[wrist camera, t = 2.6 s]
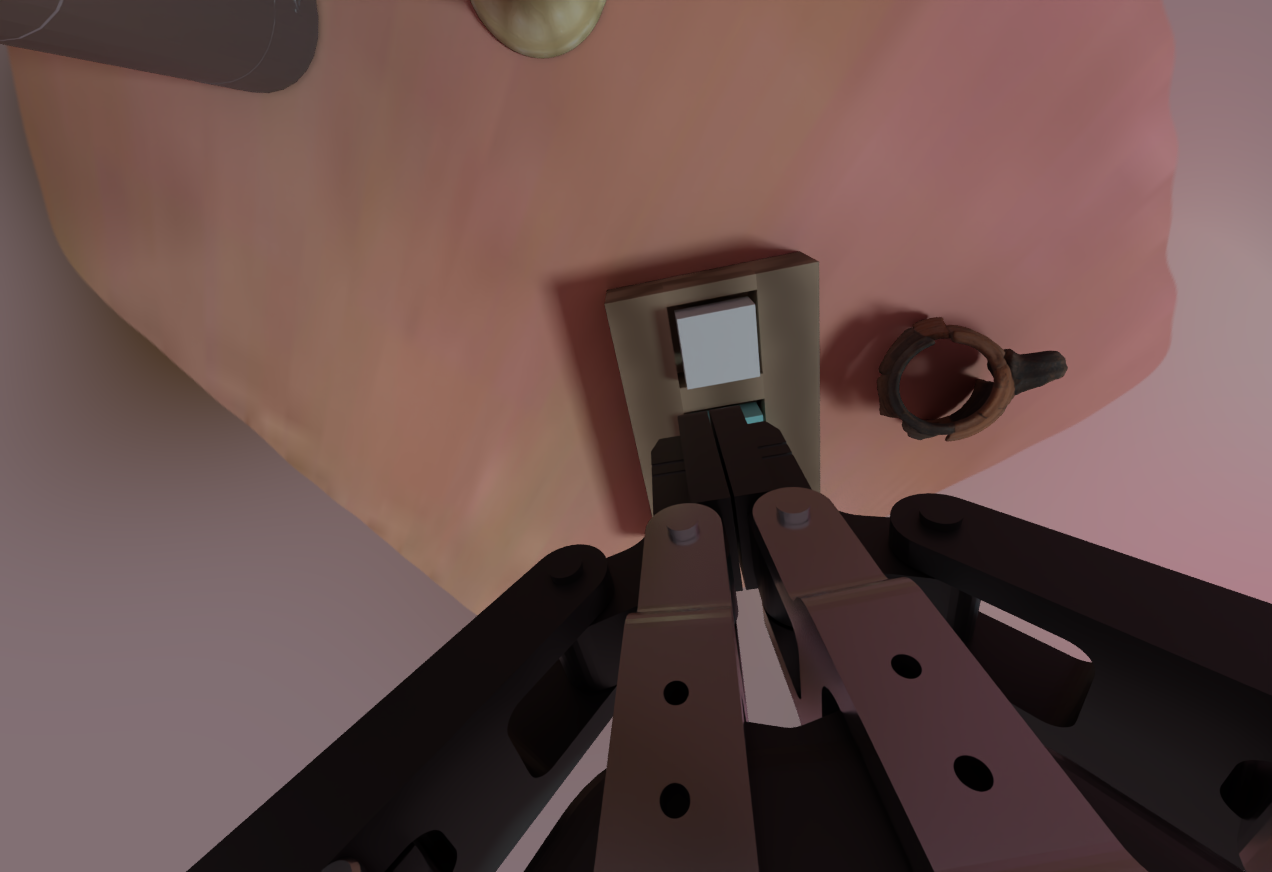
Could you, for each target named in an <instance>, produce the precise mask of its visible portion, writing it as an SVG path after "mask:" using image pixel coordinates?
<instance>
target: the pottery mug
mask: <svg viewBox="0 0 1272 872" xmlns="http://www.w3.org/2000/svg"><path fill="white" fill-rule="evenodd" d="M937 339H951V340H952V341H953V342H956V343H961V344H966V345H969V346H971V347H973V348H975V349H977V350H978V351H979V352H981V353H982V354H983V355H984V356H985V357H986V358H987V360H988V363H987V367H988V369H989V371H990V372H991V374H992V376H993V378H994V382H991V381H988V382H987V381H985V380H982V379H977V380H976V383H975V387H974V390H973V392H972V395H971V397H970V398H969V399H968V401H967V402H966V403H965V404H964V405H963V406H962V407H961V408H960V409H959V410H958V411H957V412H955V413H953V414H951V415H950V416H946V417H943V418H939V419H934V420H922V419H920V418H918V417H916V416H915V415H913V414H912V413H910V412H909V411H908V410H907V408H906V407H905V406H904V404H903V402H902V400H901V397H900V393H899V383H900V378H901V375H902V373H903V371H904V369H905V367H906V365H907V364H908V363H909V361H910V360H911V359H912V358H913V357H914V356H915V355H916V354H918V353H919V352H920V351H922V350H924V349H925V348H928V347H929V346H932V345H934V344H935V341H934V340H937ZM1067 369H1068V367H1067V365H1066V360H1065V358H1064V357H1063V356H1062V355H1061V354H1060V353H1059V352H1058V351H1043V352H1037V353H1029V354H1017V353H1015V352H1014V351H1013V350H1011V349H1004V350H1003V349H1002V348H1001V347H1000V346H999V345H997V344H996V343H995V342H993V341H992V340H991V339H989V338H988V337H986V336H984V335H982V334H980V333H978V332H976V331H974V330H972V329H969V328H966V327H962V326H956V325H946V324H945V323H944V321H943V318H942V317H939V318H938V317H935V318H929V319H926V320H921V321H919V322H917V323H915V324H913V328H909V329H907V330H905V331H904V333H903V334H902V335H901V336H900V337H899V338H898V339H897V340H896V341H895V343H894V344H893V345H892V346H891V348H890V349H889V350H888V352H887V354H886V355H885V357H884V359H883V361H882V363H881V365H880V367H879V372H880V373H881V374H882V375H881V376H880V377H879V378H878V379H877V390H878V395H879V402H880V408H879V410H880V415H884V416H887V417H892V418H899V419H902V421H903V422H902V427H903V430H904V431H905V432H907V433H908V436H909V437H911V438H914V439H917V440H922V439H925V438H931V437H934V436H937V435H947V436H946V438H945V441H955V440H960V439H964V438H967V437H970V436H972V435H975V434H977V433H979V432H981V431H982V430H984V429H985V428H987V427H988V426H990V425H991V424H992V423H994V422H995V421H996V420H997V419H998V418H999V417H1000V416H1001V415H1002V414H1003V412H1004V411H1005V409H1006V407H1007V405H1008V404H1009V403H1010V402H1011V400H1012V399H1013V397H1014V396H1015V395H1017V394H1019V393H1021V392H1024V391H1027V390H1030V389H1033V388H1036V387H1040V386H1043V385H1045V384H1047V383H1048V382H1051V381H1053V380H1055V379H1059V378H1061V377H1063V376H1064V375H1065V372H1066V371H1067Z"/></svg>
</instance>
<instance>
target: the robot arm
mask: <svg viewBox="0 0 1272 872" xmlns="http://www.w3.org/2000/svg"><path fill="white" fill-rule="evenodd" d="M317 40H318V12H317V5H316V0H0V44H3V45H9V46H14V47H19V48H24V49H30V50H35V51H40V52H45V53H51V54H56V55H61V56H66V57H72V58H77V59H82V60H87V61H93V62H98V63H103V64H108V65H113V66H119V67H124V68H129V69H134V70H140V71H145V72H150V73H155V74H161V75H166V76H171V77H176V78H182V79H187V80H192V81H196V82H201V83H206V84H211V85H216V86H222V87H227V88H232V89H237V90H243V91H248V92H256V93H271V92H275V91H279V90H284V89H285V88H287V87H289V86H290V85H292V84H294V83H295V82H297V81H298V80H299V78H300V77H301V76H302V75H303V74H304V73H305V72H306V71H307V69H308V67H309V65H310V63H311V61H312V59H313V57H314V53H315V49H316V44H317ZM709 416H710V420H709V417H708V413H707V411H702V412H696V413H690V414H685V415H679V416H677V418H678V424H679V431H680V436H674V437H668V438H662V439H659V440H658V442H657V443H656V445H655V446H654V448H653V449H652V451H651V465H652V495H653V517H652V518H651V519H650V521H649V522H648V524H647V526H646V530H645V537H644V538H643V539H642V540H641V541H640V542H639V543H637V544H636V545H634V546H633V547H631V548H629V549H627V550H625V551H623V552H620V553H618V554H615V555H613V556H610V557H608V558H606V557H605V555H604V554H603V553H602V552H601V551H600V550H599V549H597V548H595V547H593V546H590V545H581V544H577V545H570V546H566V547H563V548H560V549H557V550H555V551H553V552H551V553H550V554H548V555H547V556H545V557H544V558H543V559H541V560H540V561H539V562H538V563H537V564H536V565H535V566H534V567H532V568H531V569H530V570H529V571H528V572H527V573H526V574H524V575H523V576H522V577H521V578H520V579H519V580H518V581H516V582H515V583H514V584H513V585H512V586H511V587H510V588H508V589H507V590H506V591H505V592H504V593H503V594H502V595H501V596H499V597H498V598H497V599H496V600H495V601H494V602H493V603H491V604H490V605H489V606H488V607H487V608H486V609H485V610H483V611H482V612H481V613H480V614H479V615H478V616H477V617H475V618H474V619H473V620H472V621H471V622H470V623H469V624H468V625H466V626H465V627H464V628H463V629H462V630H461V631H460V632H459V633H457V634H456V635H455V636H454V637H453V638H452V639H451V640H450V641H448V642H447V643H446V644H445V645H444V646H442V648H440V649H439V650H438V651H437V652H436V653H435V654H433V655H432V656H431V657H430V658H429V659H428V660H427V661H425V663H423V664H422V665H421V666H420V667H419V668H418V669H416V670H415V671H414V672H413V673H412V674H411V675H410V676H408V677H407V678H406V679H405V680H404V681H403V682H402V683H400V684H399V685H398V686H397V687H396V688H395V689H394V690H393V691H391V692H390V693H389V694H388V695H387V696H386V697H384V698H383V699H382V700H381V701H380V702H379V703H378V704H377V705H375V706H374V707H373V708H372V709H371V710H370V711H369V712H367V713H366V714H365V715H364V716H363V717H362V718H361V719H359V720H358V721H357V722H356V723H355V724H354V725H353V726H352V727H351V728H349V729H348V730H347V731H346V732H345V733H344V734H342V735H341V736H340V737H339V738H338V739H337V740H336V741H334V742H333V743H332V744H331V745H330V746H329V747H328V748H327V749H325V750H324V751H323V752H322V753H321V754H320V755H318V756H317V757H316V758H315V759H314V760H313V761H312V762H311V763H309V764H308V765H307V766H306V767H305V768H304V769H303V770H302V771H300V772H299V773H298V774H297V775H296V776H295V777H293V778H292V779H291V780H290V781H289V782H288V783H287V784H285V785H284V786H283V787H282V788H281V789H280V790H279V791H278V792H276V793H275V794H274V795H273V796H272V797H271V798H270V799H268V800H267V801H266V802H265V803H264V804H263V805H262V806H260V807H259V808H258V809H257V810H256V811H255V812H254V813H252V814H251V815H250V816H249V817H248V818H247V819H246V820H245V821H243V822H242V823H241V824H240V825H239V826H238V827H237V828H235V829H234V830H233V831H232V832H231V833H230V834H229V835H227V836H226V837H225V838H224V839H223V840H222V841H221V842H219V843H218V844H217V845H216V846H215V847H214V848H213V849H212V850H210V851H209V852H208V853H207V854H206V855H205V856H204V857H202V858H201V859H200V860H199V861H198V862H197V863H196V864H194V865H193V866H192V867H191V868H190V869H189V870H188V871H186V872H496V871H497V869H498V868H499V867H500V865H501V864H502V863H503V861H504V860H505V858H506V857H507V856H508V854H509V853H510V852H511V851H512V849H513V848H514V847H515V845H516V844H517V843H518V841H519V840H520V839H521V837H522V836H523V835H524V833H525V832H526V831H527V829H528V828H529V826H530V825H531V824H532V823H533V821H534V820H535V819H536V818H537V816H538V815H539V814H540V812H541V811H542V810H543V808H544V807H545V806H546V804H547V803H548V802H549V800H550V799H551V798H552V796H553V795H554V794H555V792H556V791H557V790H558V788H559V787H560V786H561V784H562V783H563V782H564V780H565V779H566V778H567V776H568V775H569V774H570V772H571V771H572V770H573V768H574V767H575V766H576V765H577V763H578V762H579V760H580V759H581V758H582V757H583V755H584V754H585V753H586V751H587V750H588V749H589V747H590V746H591V745H592V743H593V742H594V741H595V739H596V738H597V737H598V735H599V734H600V733H601V731H602V730H603V729H604V727H605V726H606V725H607V723H608V722H609V721H610V719H611V718H612V717H613V721H612V728H611V736H610V744H609V753H608V761H607V768H606V769H605V770H604V771H602V772H601V773H600V774H598V775H597V776H596V777H595V778H594V779H593V780H592V781H591V782H590V783H589V784H588V785H586V786H585V787H584V788H583V790H582V791H581V792H580V793H579V794H578V795H577V797H576V798H575V799H574V800H573V801H572V802H571V804H570V805H569V806H568V808H567V809H566V810H565V812H564V813H563V815H562V816H561V818H560V819H559V820H558V822H557V823H556V825H555V826H554V828H553V829H552V831H551V832H550V834H549V835H548V836H547V838H546V839H545V841H544V843H543V844H542V845H541V847H540V848H539V850H538V851H537V853H536V854H535V856H534V857H533V859H532V860H531V862H530V863H529V865H528V866H527V868H526V869H525V871H524V872H1272V604H1270V603H1268V602H1265V601H1261V600H1259V599H1256V598H1253V597H1250V596H1247V595H1244V594H1241V593H1238V592H1235V591H1232V590H1229V589H1226V588H1223V587H1220V586H1217V585H1214V584H1211V583H1209V582H1205V581H1202V580H1200V579H1197V578H1194V577H1191V576H1188V575H1185V574H1182V573H1179V572H1176V571H1173V570H1170V569H1167V568H1164V567H1161V566H1158V565H1155V564H1152V563H1149V562H1147V561H1143V560H1141V559H1138V558H1135V557H1132V556H1129V555H1126V554H1123V553H1120V552H1117V551H1114V550H1111V549H1108V548H1105V547H1102V546H1099V545H1096V544H1093V543H1090V542H1087V541H1084V540H1082V539H1079V538H1076V537H1072V536H1070V535H1067V534H1063V533H1061V532H1058V531H1055V530H1052V529H1049V528H1046V527H1043V526H1040V525H1037V524H1034V523H1031V522H1028V521H1025V520H1022V519H1019V518H1016V517H1013V516H1011V515H1008V514H1005V513H1002V512H999V511H995V510H993V509H990V508H987V507H984V506H981V505H978V504H975V503H972V502H969V501H966V500H963V499H960V498H957V497H953V496H949V495H943V494H931V493H926V494H917V495H912V496H908V497H905V498H903V499H901V500H900V501H898V502H897V503H896V504H895V505H894V506H893V507H892V510H891V513H890V517H875V516H861V515H853V514H848V513H844V512H841V511H838V510H837V508H836V507H835V506H834V504H833V503H832V502H831V501H830V499H828V498H827V497H826V496H825V495H823V494H821V493H819V492H817V491H814V490H812V489H811V487H810V485H809V483H808V481H807V479H806V478H805V476H804V474H803V472H802V470H801V468H800V466H799V464H798V463H797V461H796V459H795V457H794V455H792V451H791V450H790V448H789V446H788V444H787V443H786V440H785V438H784V437H783V435H782V433H781V431H780V430H779V429H778V428H776V427H774V426H773V425H771V424H770V423H768V422H766V421H761V422H755V423H750V424H747V421H746V419H745V417H744V414H743V412H742V409H741V407H740V405H735V406H730V407H724V408H718V409H713V410H709ZM739 563H740V565H739ZM740 567H741V571H742V575H743V579H744V583H745V587H746V590H749V589H756V588H758V589H759V592H760V596H761V599H762V606H763V615H764V622H765V626H766V628H767V631H768V634H769V636H770V639H771V642H772V645H773V647H774V650H775V653H776V655H777V658H778V661H779V663H780V666H781V669H782V671H783V674H784V677H785V680H786V682H787V685H788V688H789V691H790V693H791V696H792V698H793V701H794V704H795V707H796V710H797V713H798V716H799V719H800V723H801V726H799V727H794V728H784V727H778V726H771V725H764V724H758V723H751V722H749V721H748V713H747V705H746V696H745V688H744V679H743V671H742V662H741V654H740V646H739V637H738V629H737V622H736V620H737V617H738V605H737V598H736V591H742V590H743V588H742V580H741V573H740ZM981 600H982V601H984V602H986V603H989V604H991V605H993V606H995V607H997V608H999V609H1001V610H1003V611H1006V612H1008V613H1010V614H1012V615H1014V616H1016V617H1018V618H1021V619H1023V620H1025V621H1027V622H1029V623H1031V624H1033V625H1035V626H1038V627H1040V628H1042V629H1044V630H1046V631H1048V632H1050V633H1053V634H1055V635H1057V636H1059V637H1061V638H1063V639H1065V640H1067V641H1069V642H1071V643H1072V644H1074V645H1076V646H1077V647H1078V648H1080V649H1081V650H1082V651H1083V652H1084V653H1085V654H1086V655H1087V656H1088V657H1089V658H1090V659H1091V661H1092V662H1086V661H1082V660H1079V659H1076V658H1074V657H1071V656H1070V655H1067V654H1066V653H1064V652H1062V651H1059V650H1057V649H1055V648H1053V647H1051V646H1049V645H1047V644H1045V643H1043V642H1041V641H1039V640H1037V639H1035V638H1033V637H1031V636H1028V635H1027V634H1024V633H1022V632H1020V631H1018V630H1016V629H1014V628H1012V627H1010V626H1008V625H1006V624H1004V623H1002V622H1000V621H998V620H996V619H993V618H991V617H989V616H987V615H985V614H983V613H981V612H979V606H980V601H981ZM1243 870H1244V871H1243Z"/></svg>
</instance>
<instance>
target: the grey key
mask: <svg viewBox="0 0 1272 872" xmlns="http://www.w3.org/2000/svg"><path fill="white" fill-rule="evenodd" d="M674 312H675V318H676V325H677V331H678V338H679V344H680V351H681V357H682V364H683V370H684V376H685V381H686V385H687V389H694V388H699V387H705V386H710V385H716V384H721V383H727V382H733V381H738V380H744V379H749V378H755V377H760V367H759V353H758V338H757V324H756V310H755V304H754V303H753V301H752V300H751V299H750V298H749V297H748V296H745V297H740V298H735V299H730V300H725V301H720V302H715V303H709V304H704V305H699V306H694V307H689V308H684V309H679V310H674Z"/></svg>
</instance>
